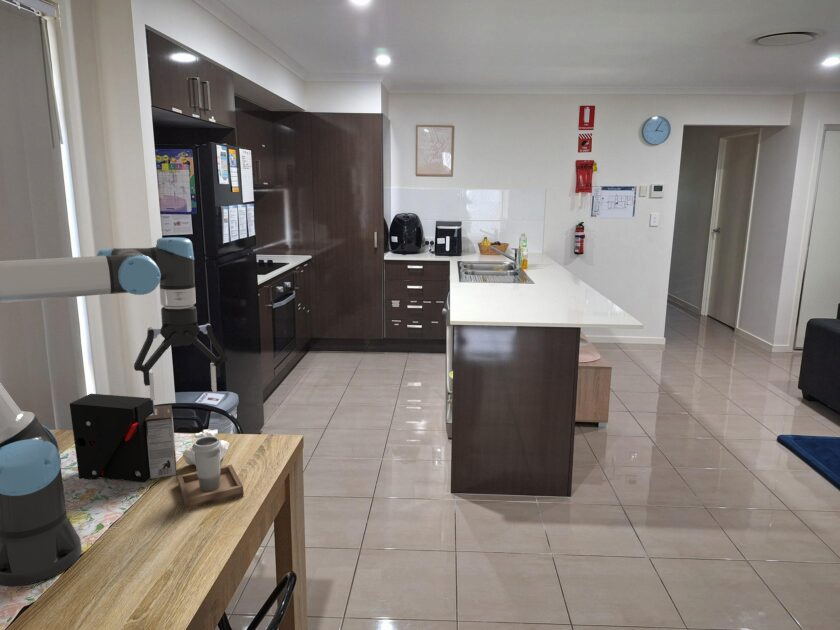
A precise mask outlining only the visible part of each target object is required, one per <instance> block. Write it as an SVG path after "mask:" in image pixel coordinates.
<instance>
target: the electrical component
mask: <svg viewBox="0 0 840 630" xmlns="http://www.w3.org/2000/svg"><path fill="white" fill-rule="evenodd" d="M154 406H155V401H154V400H151V397H141V396H140V397H139V396H130V395H129V396H127V395H114V394H101V393H88V394H87V395H84V396H83V397H81V398H79V399H76V400H73V401H72V402H70V403H69V409H70V417H71V425H72V433H73V441H74V448H75V458H76V463H77V465H76V466H77V471H78V478H79V479H82V478H84V479H85V480H98V479H106V480H107V479H109V480H118V481H127V482H137V483H146V482H147V481H149V480H150V479H151V478H150V469H149V457H148V445H147V433H146V422H145V418H147V417H148V416H150V415H151V414H153V413H154Z"/></svg>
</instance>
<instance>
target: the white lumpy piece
mask: <svg viewBox="0 0 840 630" xmlns="http://www.w3.org/2000/svg"><path fill="white" fill-rule="evenodd" d="M218 431H219V430H218V429H217V428H216V429H213V430H211V429H210V428H207V429H202V431H200V432H196V433H195V434H194V437H195V438H196V439H198V438H201V437H205V436H215V437H216V436H217V434H218V433H219V432H218ZM219 440H220V439H219ZM220 442H221V444H222V445H221V447H220V461H221V460H223V458H224V457H225V456H226V453H227V451H228V449H229V448H230V447H229V446H230V443H229V441H227V440H223V439H222V440H220ZM182 458H183V459H184V462H185V463H186V464H187V465H190V466H191V465H193V466H196V462H195V451H193V450H192V446H190V447H187V448H186V449H185V450H184V451H182Z"/></svg>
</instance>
